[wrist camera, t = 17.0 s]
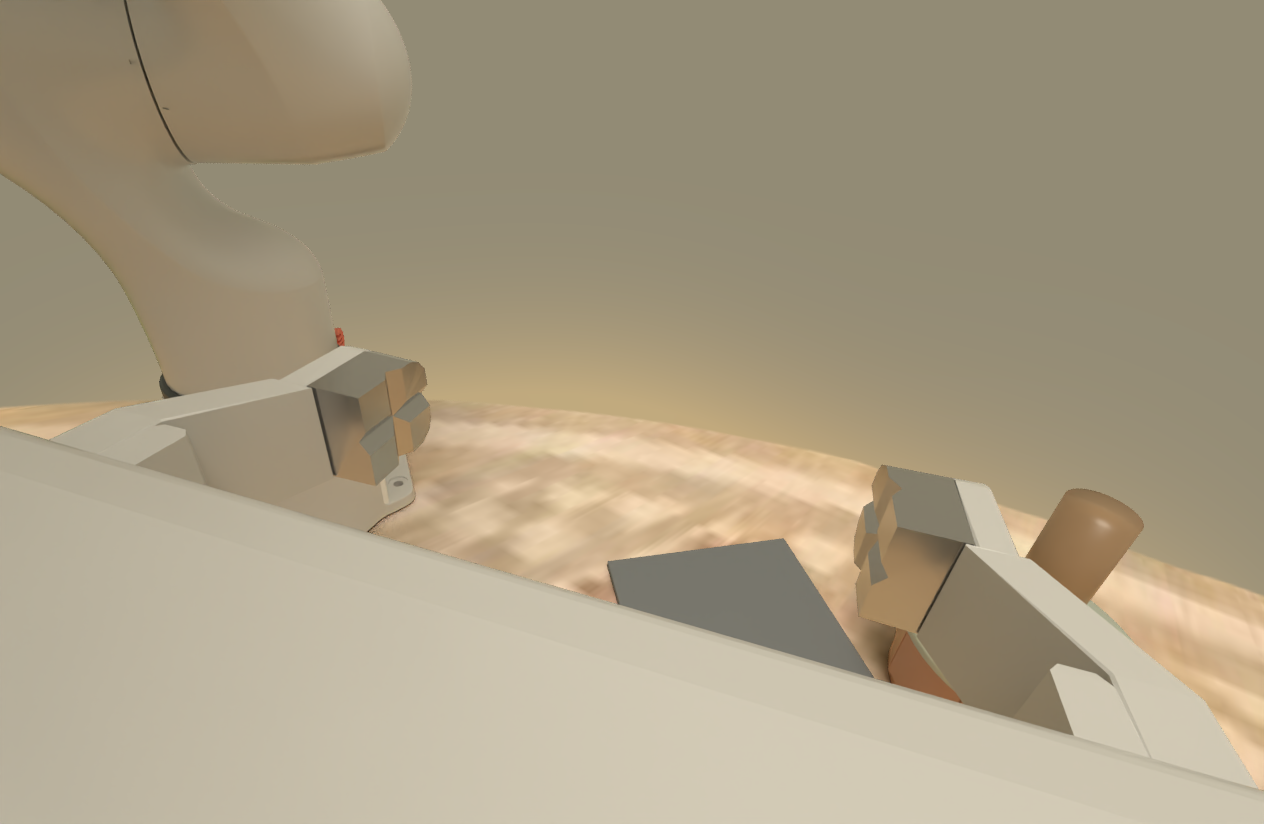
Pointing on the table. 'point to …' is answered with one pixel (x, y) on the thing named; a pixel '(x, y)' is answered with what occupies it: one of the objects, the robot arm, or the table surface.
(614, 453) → the table surface
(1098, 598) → the table surface
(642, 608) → the mat
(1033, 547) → the lid
